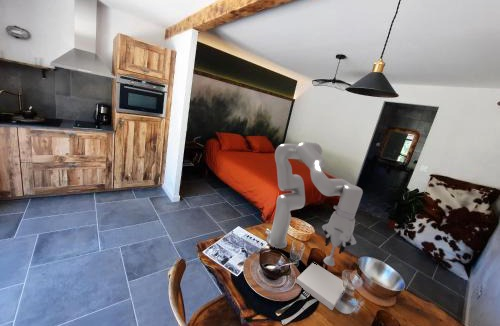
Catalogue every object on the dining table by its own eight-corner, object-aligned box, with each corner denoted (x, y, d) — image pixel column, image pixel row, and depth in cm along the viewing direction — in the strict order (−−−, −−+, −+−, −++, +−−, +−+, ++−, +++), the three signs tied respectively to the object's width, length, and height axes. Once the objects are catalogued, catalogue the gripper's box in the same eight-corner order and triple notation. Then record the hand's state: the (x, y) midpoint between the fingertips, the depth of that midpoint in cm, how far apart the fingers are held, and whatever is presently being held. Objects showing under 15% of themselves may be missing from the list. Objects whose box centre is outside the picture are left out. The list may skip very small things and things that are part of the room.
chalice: (338, 269, 96) (350, 234, 92) (322, 265, 97) (333, 230, 93) (335, 259, 103) (346, 226, 98) (320, 255, 104) (331, 221, 100)
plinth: (295, 283, 102) (296, 278, 102) (311, 266, 116) (313, 261, 115) (332, 310, 92) (334, 305, 91) (345, 288, 105) (347, 283, 104)
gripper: (323, 206, 96) (312, 241, 101) (364, 224, 86) (350, 263, 90) (329, 202, 102) (319, 236, 106) (368, 219, 91) (355, 256, 96)
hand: (333, 248), depth 98 cm, fingers closed on chalice, 5 cm apart
